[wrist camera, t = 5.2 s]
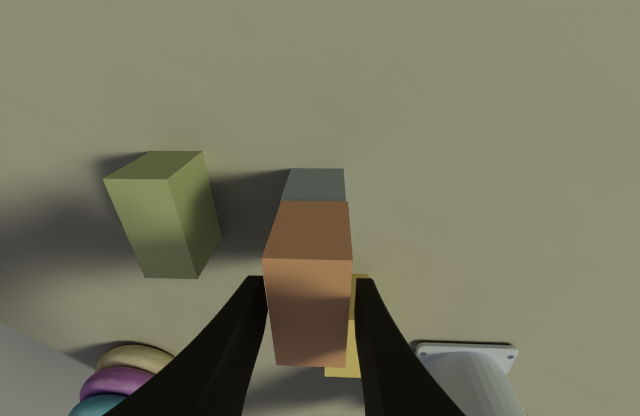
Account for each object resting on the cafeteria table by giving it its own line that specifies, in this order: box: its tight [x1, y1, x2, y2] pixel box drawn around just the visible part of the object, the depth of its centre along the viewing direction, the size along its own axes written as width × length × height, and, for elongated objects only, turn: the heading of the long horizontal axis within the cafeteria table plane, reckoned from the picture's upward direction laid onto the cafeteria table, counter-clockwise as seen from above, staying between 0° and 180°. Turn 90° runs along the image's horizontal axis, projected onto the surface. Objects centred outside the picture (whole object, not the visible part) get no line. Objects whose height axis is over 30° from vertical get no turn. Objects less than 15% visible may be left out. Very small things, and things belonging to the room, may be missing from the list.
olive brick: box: [103, 151, 222, 279], centre depth 16 cm, size 6×3×4 cm, turn 1°
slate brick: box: [280, 168, 346, 203], centre depth 16 cm, size 6×3×4 cm, turn 1°
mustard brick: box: [325, 274, 369, 378], centre depth 20 cm, size 6×3×4 cm, turn 1°
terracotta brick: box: [262, 200, 353, 368], centre depth 12 cm, size 6×3×4 cm, turn 0°
